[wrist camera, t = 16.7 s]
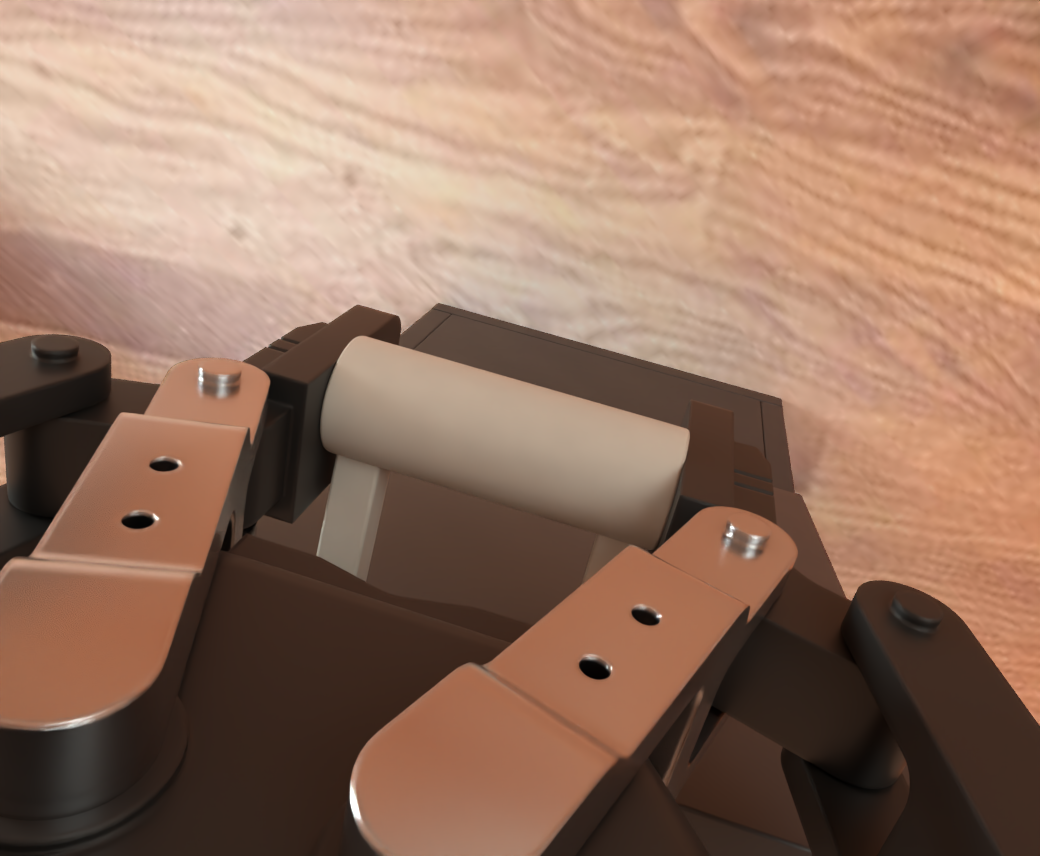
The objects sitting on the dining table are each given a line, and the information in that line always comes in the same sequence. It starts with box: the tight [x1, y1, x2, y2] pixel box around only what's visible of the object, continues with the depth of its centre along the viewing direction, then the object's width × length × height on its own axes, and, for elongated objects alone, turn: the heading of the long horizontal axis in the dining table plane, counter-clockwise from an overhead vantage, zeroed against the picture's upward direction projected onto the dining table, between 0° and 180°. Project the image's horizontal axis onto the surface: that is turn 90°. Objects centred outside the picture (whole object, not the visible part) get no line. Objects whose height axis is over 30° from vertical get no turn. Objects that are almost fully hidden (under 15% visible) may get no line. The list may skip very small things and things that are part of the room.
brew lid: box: [256, 336, 910, 856], centre depth 19 cm, size 17×15×5 cm
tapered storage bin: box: [399, 303, 795, 493], centre depth 35 cm, size 16×15×9 cm
